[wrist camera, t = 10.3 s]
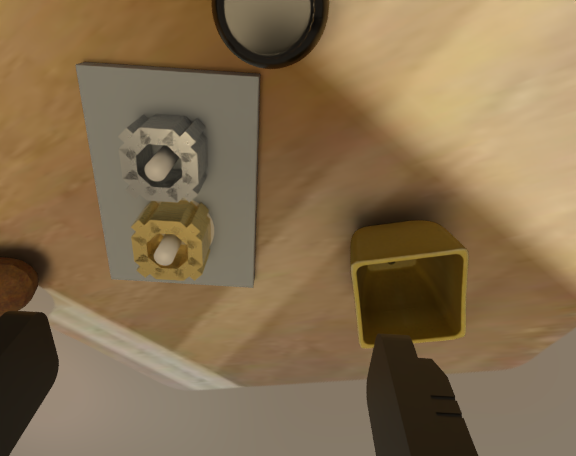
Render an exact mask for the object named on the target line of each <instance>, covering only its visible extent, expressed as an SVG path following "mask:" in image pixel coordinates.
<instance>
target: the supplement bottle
mask: <svg viewBox="0 0 576 456" xmlns="http://www.w3.org/2000/svg"><path fill="white" fill-rule="evenodd" d="M328 12H329V0H212V13H213V18H214V22H215V25H216V28H217V31H218V33H219V35H220V37H221V38H222V40H223V42H224V43H225V45H226V46H227V47H228V48H229V49H230V51H231V52H232V53H234V54H235V55H236V56H237V57H238V58H240V59H241V60H243V61H244V62H246V63H248V64H250V65H253V66H256V67H259V68H265V69H278V68H283V67H287V66H290V65H292V64H295V63H297V62H298V61H300V60H301V59H303V58H304V57H305V56H307V55H308V54H309V53H310V52H311V51H312V50H313V49H314V47H315V46H316V45H317V43H318V41H319V40H320V38H321V36H322V34H323V32H324V29H325V26H326V23H327V19H328Z"/></svg>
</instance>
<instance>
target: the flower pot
mask: <svg viewBox="0 0 576 456" xmlns="http://www.w3.org/2000/svg"><path fill="white" fill-rule="evenodd" d="M350 254H351V276H352V283H353V291H354V299H355V309H356V318H357V328H358V339H359V344H360V346H361V348H374V344H375V339H376V336H377V334H396V335H409V336H410V337H411V339H412V342H413V343H422V342H434V341H444V340H453V339H457V338H461V337H464V336H465V333H466V288H467V275H468V250H467V249H466V248H465V247H464V246H463V245H462V244H461V243H460V242H459V241H458V240H457V239H456V238H454V237H453V236H452V235H451V234H450V233H449V232H448V231H447V230H446V229H445V228H443V227H442V226H441V225H439V224H437V223H434V222H431V221H424V220H412V221H404V222H397V223H389V224H381V225H373V226H367V227H363V228H360V229H358V230H357V231H356V232H355V233H354V234H353V236H352V238H351V246H350ZM389 262H393V263H389Z"/></svg>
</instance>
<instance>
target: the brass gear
mask: <svg viewBox="0 0 576 456" xmlns="http://www.w3.org/2000/svg"><path fill="white" fill-rule="evenodd" d="M208 212H209V209H208V208H207V207H206V206H205V205H204V204H203V203H200V204H198V205H197V206H196V205H195V204H194V203H193V202H191V201H190V202H188V201H186V200H180V201H179V202H178V203H177V202H162V201H161V202H160V203H159V204H158V203H157V202H156V201H151V202H150V203H148V204H147V205H146V206H145V208H144V209H143V211H142V212H141V213H140V215H139V216H138V218H137V219H136V220H135V222H134V223H133V225H132V226H131V228H132V229H133V230H135V232H134V233H133V235H132V236H131V240H132V248H133V256H134V262H136V263H137V264H138V265H139V267H138V268H137V270H136V271H137V272H139V273H140V274H141V275H142V276H144V277H145V278H146V277H147V276H148V275H149V274H150V275H152V276H153V277H154V278H155V279H162V280H178V281H184V280H185V279H187V278H188V277H190V278H192V279H193V280H194V281H195V280H196V279H197V278H199V277H200V276H201V275H202V274H203V271H204V268H205V265H206V262H207V259H208V256H209V253H210V249H209V246H210V243H211V224H210V218H209V217H208V216H207V214H208ZM162 234H175V235H176V236H177V237H178V238H179V239H180V240H181V241H183V242H184V243H185V244H186V245H180V247H179V249H178V251H177V253H176V256H175V258H174V260H173V262H172V263H171V264H170V265H167V266H164V265H160V264H158V263H157V262H156V261H155V259H154V253H155V251H156V250H157V248H158V246H159V244H160V242H161V240H162V239H163V237H164V236H163V235H162Z"/></svg>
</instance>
